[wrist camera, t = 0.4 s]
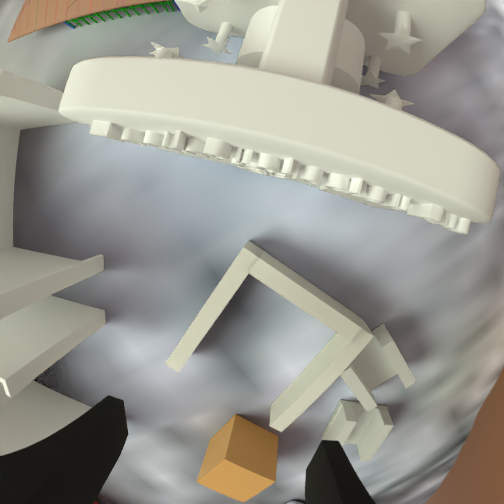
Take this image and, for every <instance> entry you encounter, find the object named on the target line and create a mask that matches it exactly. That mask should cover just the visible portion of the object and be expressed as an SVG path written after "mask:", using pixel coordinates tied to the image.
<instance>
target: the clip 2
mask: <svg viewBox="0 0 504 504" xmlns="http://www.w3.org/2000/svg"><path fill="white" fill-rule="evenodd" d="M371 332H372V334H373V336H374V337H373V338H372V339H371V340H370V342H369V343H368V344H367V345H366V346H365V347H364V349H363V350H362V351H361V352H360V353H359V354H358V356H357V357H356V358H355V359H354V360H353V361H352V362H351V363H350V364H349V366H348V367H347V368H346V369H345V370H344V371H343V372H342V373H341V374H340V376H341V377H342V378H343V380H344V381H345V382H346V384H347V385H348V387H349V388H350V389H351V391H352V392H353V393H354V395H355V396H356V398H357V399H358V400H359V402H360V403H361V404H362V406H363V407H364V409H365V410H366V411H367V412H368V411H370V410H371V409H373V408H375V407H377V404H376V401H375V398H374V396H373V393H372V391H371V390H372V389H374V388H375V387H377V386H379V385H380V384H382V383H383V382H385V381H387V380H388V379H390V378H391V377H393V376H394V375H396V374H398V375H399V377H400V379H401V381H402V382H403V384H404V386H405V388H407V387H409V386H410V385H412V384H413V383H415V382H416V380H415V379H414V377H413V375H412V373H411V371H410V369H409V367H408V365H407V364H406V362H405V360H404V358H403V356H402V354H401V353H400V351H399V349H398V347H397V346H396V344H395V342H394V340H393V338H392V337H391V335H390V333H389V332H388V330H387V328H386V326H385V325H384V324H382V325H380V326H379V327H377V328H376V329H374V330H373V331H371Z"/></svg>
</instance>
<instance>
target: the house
mask: <svg viewBox="0 0 504 504" xmlns="http://www.w3.org/2000/svg"><path fill="white" fill-rule="evenodd" d="M159 1H160V2H161V3H154V4H152V2H159ZM162 1H167V2H165V3H163V2H162ZM144 3H150V4H149V5H142V4H144ZM170 3H175V5H176V6H177V8H178V9H179V11H181V10H180V8H179V7H178V5H177V4H176V2H175V1H174V0H173V1H172V2H169V0H25V2H24V5H23V7H22V9H21V11H20V13H19V15H18V17H17V20H16V22H15V24H14V27H13V29H12V31H11V34H10V36H9V39H8V42H11V41H13V40H15V39H18V38H20V37H22V36H25V35H27V34H30V33H32V32H35V31H38V30H41V29H43V28H46V27H49V26H52V25H55V24H58V23H61V22H64V23H66V24H67V25H69V26H70V27H72V28H73V29H75V28H76V27H75V26H74V25H72V24H71V23H69V22H72V21H74V22H76V23H77V24H78V25H80V26H81V27H82V25H81V24H80V23H78V22H77V20H80V19H82V20H83V21H84V22H86V23H87V24H88V25H90V24H89V23H88V22H87V21H85V20H84V19H83V18H87V17H89V18H90V19H92V20H93V21H94V22H95V23H97V21H95V20H94V19H93V18H92V16H96V15H97V16H98V17H99V18H101V19H102V20H103V21H104V22H105V20H104V19H103V18H102V17H101V16H99V14H103V13H105V14H106V15H107V16H109V17H110V18H111V19H112V20H113V18H112V17H111V16H110V15H109V14H108V13H109V12H115V13H116V14H117V15H118V16H119V17H120V18H122V17H121V16H120V15H119V14H118V13H117V12H116V11H118V10H123V11H124V12H125V13H126V14H127V15H128V16H129V17H130V15H129V14H128V13H127V12H126V11H125V9H130V8H132V9H133V10H134V11H135V12H136V13H137V14H138V15H140V14H139V13H138V12H137V11H136V10H135V9H134V8H135V7H142V8H143V9H144V10H145V11H146V13H147V14H149V13H148V11H147V10H146V9H145V8H144V7H143V6H150V5H152V7H153V8H154V9H155V10H156V12H157V13H159V12H158V10H157V9H156V8H155V7H154V5H156V4H162V5H163V6H164V8H165V9H166V11H167V12H169V11H168V9H167V8H166V7H165V5H164V4H169V6H170V7H171V9H172V10H173V12H174V11H175V10H174V9H173V7H172V6H171V4H170ZM138 4H140V5H139V6H132V5H138ZM126 6H130V7H129V8H123V7H126ZM116 8H121V9H117V10H114V9H116ZM106 10H112V11H108V12H105V11H106ZM102 11H103V12H102ZM97 12H102V13H98V14H97ZM93 13H95V15H91V16H89V14H93ZM85 15H87V16H86V17H82V16H85ZM78 17H79V18H80V19H75V18H78ZM81 17H82V18H81ZM68 20H71V21H68Z"/></svg>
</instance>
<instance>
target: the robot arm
mask: <svg viewBox="0 0 504 504" xmlns="http://www.w3.org/2000/svg"><path fill="white" fill-rule="evenodd" d="M127 436H128V429H127V422H126V416H125V409H124V401H123V400H120V399H117V398H115V397H112V396H107V397H105V398H104V399H103V400H101V401H100V402H99V403H97V404H96V405H95V406H93V407H92V408H91V409H89V410H88V411H87V412H85V413H84V414H83V415H81V416H80V417H78V418H77V419H75V420H74V421H72V422H71V423H69V424H68V425H66V426H65V427H63V428H62V429H60V430H58V431H57V432H55V433H53V434H52V435H50V436H48V437H46V438H44V439H42V440H41V441H39V442H36V443H34V444H32V445H30V446H28V447H25V448H23V449H20V450H17V451H15V452H12V453H9V454H6V455H2V456H0V504H94V502H95V500H96V498H97V496H98V494H99V492H100V490H101V489H102V487H103V485H104V483H105V481H106V480H107V478H108V476H109V474H110V473H111V471H112V469H113V467H114V465H115V464H116V462H117V460H118V458H119V456H120V454H121V452H122V449H123V447H124V444H125V441H126V439H127ZM305 500H306V504H376V503H375V502H374V501H373V499H372V498H371V496H370V495H369V493H368V492H367V490H366V489H365V487H364V485H363V484H362V482H361V481H360V479H359V477H358V476H357V474H356V472H355V470H354V469H353V467H352V465H351V463H350V461H349V459H348V458H347V456H346V454H345V452H344V450H343V448H342V446H341V444H340V442H339V441H334V440H322V441H321V443H320V445H319V447H318V449H317V451H316V453H315V454H314V456H313V458H312V460H311V462H310V463H309V465H308V467H307V469H306V481H305ZM287 504H303V503H300V502H297V501H290V502H288V503H287Z"/></svg>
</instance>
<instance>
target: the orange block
mask: <svg viewBox="0 0 504 504" xmlns="http://www.w3.org/2000/svg"><path fill="white" fill-rule="evenodd" d="M277 452H278V436H277V435H275V434H273V433H271V432H269V431H267V430H265V429H263V428H261V427H259V426H257V425H255V424H254V423H252V422H250V421H248V420H246V419H244V418H242V417H241V416H239V415H237V414H235V415H234V416H233V417H232V418H231V419H230V420H229V421H228V422H227V423H226V424H225V425H224V426H223V427H222V428H221V429H220V430H219V431H218V432H217V433H216V434H215V435H214V436H213V437H212V438H211V439H210V442H209V445H208V448H207V451H206V454H205V457H204V460H203V463H202V467H201V470H200V473H199V476H198V479H197V482H198V483H200V484H202V485H204V486H206V487H208V488H210V489H212V490H215V491H217V492H219V493H221V494H224V495H226V496H229V497H231V498H233V499H236V500H238V501H241V502H245V501H247V500H248V499H250V498H251V497H253V496H255V495H256V494H258V493H259V492H261V491H262V490H264V489H265V488H267V487H268V486H270V485H271V484H273V483H274V482H276V468H277Z"/></svg>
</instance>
